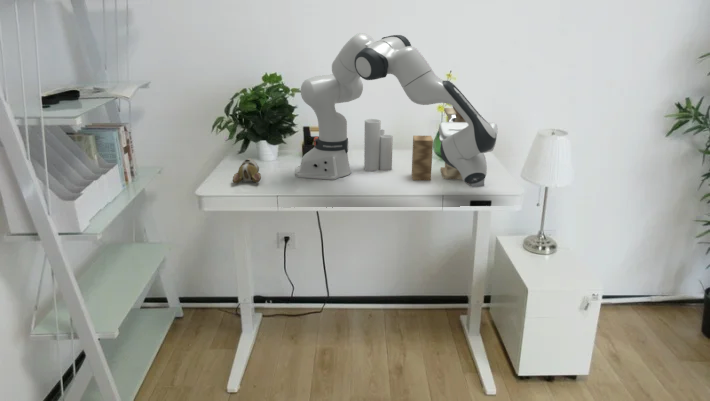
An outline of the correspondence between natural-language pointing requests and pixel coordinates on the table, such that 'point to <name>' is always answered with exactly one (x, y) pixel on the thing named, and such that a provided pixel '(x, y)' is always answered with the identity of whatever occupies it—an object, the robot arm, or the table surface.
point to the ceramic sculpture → (247, 172)
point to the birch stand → (446, 171)
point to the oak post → (422, 157)
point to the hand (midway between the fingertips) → (465, 116)
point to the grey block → (478, 184)
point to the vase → (377, 147)
